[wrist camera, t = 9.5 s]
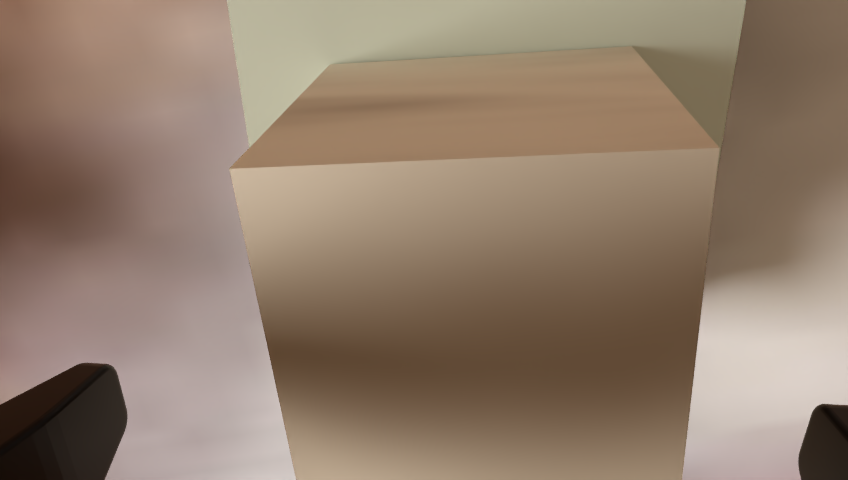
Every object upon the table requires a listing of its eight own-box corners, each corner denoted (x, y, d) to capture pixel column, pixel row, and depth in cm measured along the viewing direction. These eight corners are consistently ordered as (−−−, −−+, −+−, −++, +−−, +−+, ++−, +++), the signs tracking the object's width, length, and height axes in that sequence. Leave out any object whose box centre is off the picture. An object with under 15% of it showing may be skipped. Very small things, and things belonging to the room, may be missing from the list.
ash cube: (618, 308, 16) (677, 515, 11) (364, 313, 17) (302, 509, 12) (631, 46, 14) (719, 147, 8) (330, 64, 14) (229, 168, 9)
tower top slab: (661, 324, 19) (681, 382, 17) (306, 316, 20) (283, 368, 18) (718, -72, 15) (757, -64, 12) (258, -58, 16) (219, -49, 13)
